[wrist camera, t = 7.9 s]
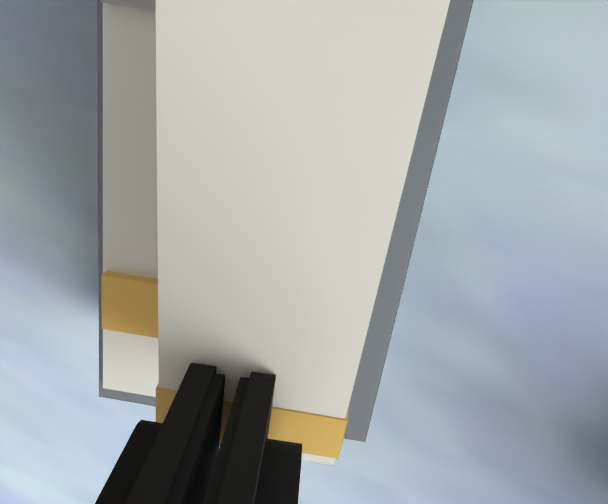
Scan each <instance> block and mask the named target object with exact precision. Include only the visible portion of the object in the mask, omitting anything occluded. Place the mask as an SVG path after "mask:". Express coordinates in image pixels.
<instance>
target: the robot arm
mask: <svg viewBox="0 0 608 504" xmlns="http://www.w3.org/2000/svg"><path fill="white" fill-rule="evenodd" d="M216 370H217V367H216V366H211V365H204V364H198V363H190V365H189V367H188V369H187V371H186V373H185V376H184V378H183V380H182V382H181V384H180V386H179V389H178V391H177V393H176V395H175V397H174V400H173V402H172V404H171V406H170V408H169V410H168V413H167V415H166V417H165V419H164V421H163V423H158V422H152V421H145V420H141V421H140V422H138V424H137V425H136V427H135V429H134V431H133V432H132V434H131V436H130V438H129V440H128V442H127V444H126V446H125V448H124V450H123V451H122V453H121V455H120V457H119V459H118V461H117V463H116V465H115V467H114V468H113V470H112V472H111V474H110V476H109V478H108V480H107V482H106V484H105V486H104V487H103V489H102V491H101V493H100V495H99V497H98V499H97V501H96V503H95V504H298V493H299V481H300V470H301V458H302V444H301V443H294V442H287V441H281V440H274V439H268V432H269V425H270V417H271V410H272V403H273V395H274V387H275V380H276V375H272V374H266V373H259V372H251V374H250V378H246V377H240V379H239V382H238V386H237V389H236V393H235V396H234V400H233V403H232V407H231V410H230V413H229V417H228V420H227V424H226V427H225V431H224V434H223V437H222V441H221V444H220V448H219V441H220V430H221V419H222V409H223V398H224V387H225V374H218V373H216Z"/></svg>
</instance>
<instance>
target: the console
mask: <svg viewBox="0 0 608 504" xmlns="http://www.w3.org/2000/svg"><path fill="white" fill-rule="evenodd" d="M472 4H473V0H450V4H449V8H448V12H447V16H446V20H445V24H444V28H443V31H442V35H441V39H440V43H439V47H438V51H437V55H436V59H435V63H434V67H433V71H432V75H431V79H430V83H429V87H428V91H427V95H426V99H425V103H424V107H423V111H422V115H421V119H420V123H419V127H418V131H417V135H416V139H415V143H414V147H413V151H412V155H411V159H410V163H409V167H408V171H407V175H406V179H405V183H404V187H403V191H402V195H401V199H400V203H399V207H398V211H397V215H396V219H395V223H394V227H393V231H392V235H391V239H390V243H389V247H388V251H387V255H386V259H385V263H384V267H383V271H382V275H381V279H380V283H379V287H378V291H377V295H376V299H375V303H374V307H373V311H372V315H371V319H370V323H369V327H368V331H367V335H366V339H365V343H364V347H363V351H362V355H361V359H360V363H359V367H358V371H357V374H356V378H355V382H354V386H353V390H352V394H351V398H350V402H349V406H348V422H347V426H346V430H345V434H344V437H343V438H345V439H351V440H357V441H363V442H365V440H366V436H367V432H368V428H369V424H370V420H371V416H372V412H373V408H374V404H375V400H376V396H377V392H378V387H379V383H380V379H381V375H382V371H383V367H384V363H385V359H386V355H387V351H388V347H389V343H390V339H391V334H392V330H393V326H394V322H395V318H396V314H397V310H398V306H399V302H400V298H401V294H402V290H403V285H404V281H405V277H406V273H407V269H408V265H409V261H410V257H411V253H412V249H413V245H414V241H415V237H416V232H417V228H418V224H419V220H420V216H421V212H422V208H423V204H424V200H425V196H426V192H427V188H428V183H429V179H430V175H431V171H432V167H433V163H434V159H435V155H436V151H437V147H438V143H439V139H440V135H441V130H442V126H443V122H444V118H445V114H446V110H447V106H448V102H449V98H450V94H451V90H452V86H453V82H454V77H455V73H456V69H457V65H458V61H459V57H460V53H461V49H462V45H463V41H464V37H465V33H466V28H467V24H468V20H469V16H470V12H471V8H472ZM98 217H99V397H105V398H111V399H116V400H122V401H128V402H134V403H140V404H146V405H152V406H156V387H157V385H158V383H159V357H158V230H157V104H156V0H98Z"/></svg>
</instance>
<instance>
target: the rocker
mask: <svg viewBox="0 0 608 504" xmlns="http://www.w3.org/2000/svg"><path fill="white" fill-rule="evenodd" d="M449 4H450V0H156V104H157V230H158V357H159V383H158V385H157V387H156V422H158V423H163V421H164V419H165V417H166V415H167V413H168V410H169V408H170V406H171V404H172V402H173V400H174V397H175V395H176V393H177V391H178V389H179V386H180V384H181V382H182V380H183V378H184V376H185V373H186V371H187V369H188V367H189V365H190V363H198V364H204V365H211V366H216V367H217V370H216V373H218V374H225V387H224V398H223V409H222V419H221V430H220V441H219V446H220V444H221V441H222V437H223V434H224V431H225V427H226V424H227V420H228V417H229V413H230V410H231V407H232V403H233V400H234V396H235V393H236V389H237V386H238V382H239V379H240V377H246V378H250V374H251V372H259V373H266V374H272V375H276V380H275V387H274V395H273V403H272V410H271V417H270V425H269V432H268V439H274V440H281V441H287V442H294V443H301V444H302V458H301V460H305V461H311V462H317V463H323V464H328V465H334V462H335V458H336V459H338V457H339V453H340V449H341V445H342V441H343V437H344V434H345V430H346V426H347V422H348V406H349V402H350V398H351V394H352V390H353V386H354V382H355V378H356V374H357V371H358V367H359V363H360V359H361V355H362V351H363V347H364V343H365V339H366V335H367V331H368V327H369V323H370V319H371V315H372V311H373V307H374V303H375V299H376V295H377V291H378V287H379V283H380V279H381V275H382V271H383V267H384V263H385V259H386V255H387V251H388V247H389V243H390V239H391V235H392V231H393V227H394V223H395V219H396V215H397V211H398V207H399V203H400V199H401V195H402V191H403V187H404V183H405V179H406V175H407V171H408V167H409V163H410V159H411V155H412V151H413V147H414V143H415V139H416V135H417V131H418V127H419V123H420V119H421V115H422V111H423V107H424V103H425V99H426V95H427V91H428V87H429V83H430V79H431V75H432V71H433V67H434V63H435V59H436V55H437V51H438V47H439V43H440V39H441V35H442V31H443V28H444V24H445V20H446V16H447V12H448V8H449Z"/></svg>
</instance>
